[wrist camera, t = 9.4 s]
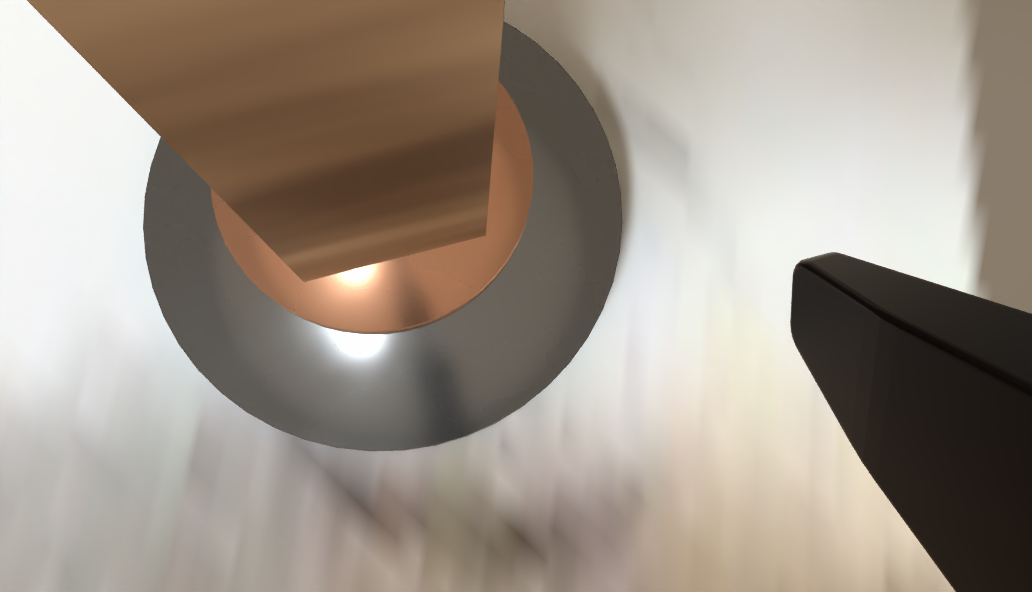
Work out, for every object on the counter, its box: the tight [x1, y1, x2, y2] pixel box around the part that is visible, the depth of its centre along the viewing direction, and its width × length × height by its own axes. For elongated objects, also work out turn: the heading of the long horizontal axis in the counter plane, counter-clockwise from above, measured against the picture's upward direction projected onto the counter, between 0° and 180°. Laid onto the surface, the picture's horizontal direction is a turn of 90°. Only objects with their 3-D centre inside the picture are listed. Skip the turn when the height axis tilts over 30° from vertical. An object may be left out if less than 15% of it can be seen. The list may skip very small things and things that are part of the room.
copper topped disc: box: [143, 22, 622, 451], centre depth 21 cm, size 12×12×4 cm
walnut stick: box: [27, 0, 505, 282], centre depth 12 cm, size 4×4×13 cm
